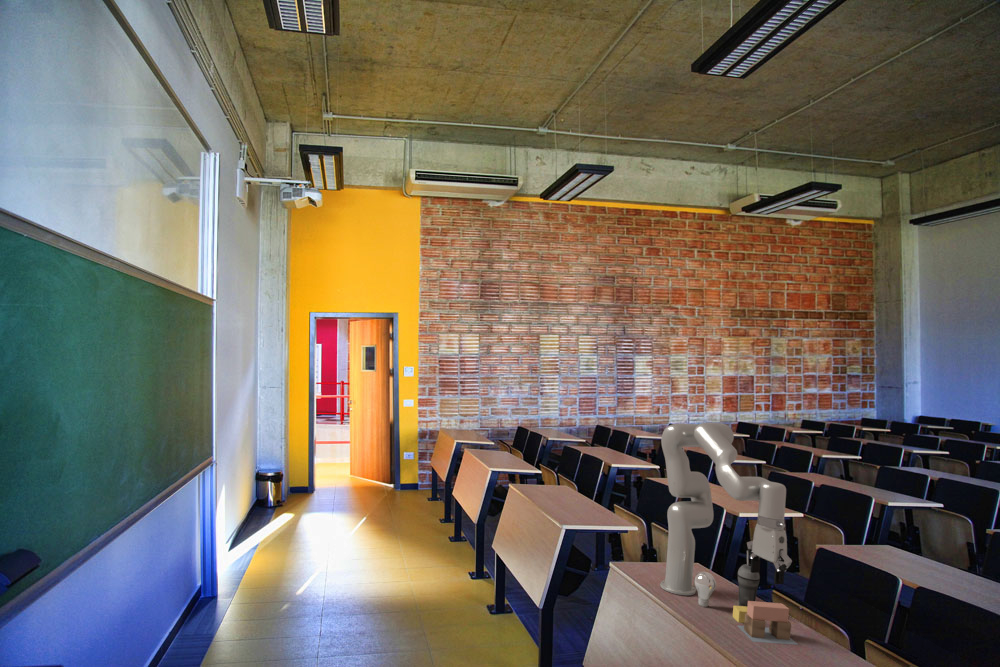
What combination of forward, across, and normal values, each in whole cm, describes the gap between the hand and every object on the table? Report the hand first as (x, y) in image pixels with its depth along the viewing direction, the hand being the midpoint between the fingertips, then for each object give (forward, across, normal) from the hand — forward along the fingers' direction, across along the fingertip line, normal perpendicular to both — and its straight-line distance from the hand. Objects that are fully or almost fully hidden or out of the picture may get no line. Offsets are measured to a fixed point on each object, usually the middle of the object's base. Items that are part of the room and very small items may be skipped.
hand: (766, 578), depth 189 cm
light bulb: (+18, +21, +6) cm, 28 cm away
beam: (+12, -2, 0) cm, 12 cm away
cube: (+18, +9, 0) cm, 20 cm away
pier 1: (+17, 0, +4) cm, 17 cm away
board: (+17, -2, 0) cm, 17 cm away
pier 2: (+17, -3, -4) cm, 17 cm away
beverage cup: (+18, +17, -9) cm, 26 cm away
